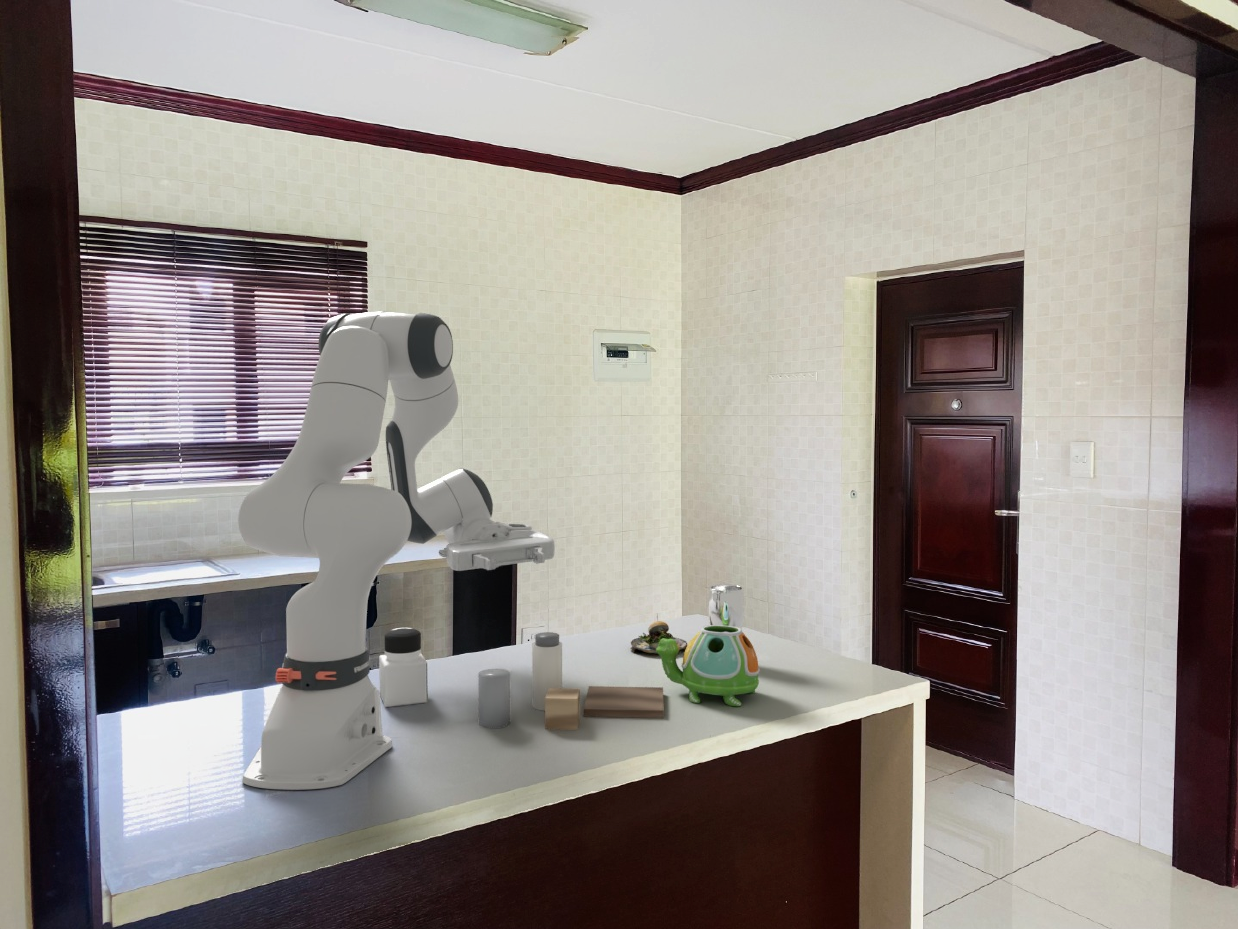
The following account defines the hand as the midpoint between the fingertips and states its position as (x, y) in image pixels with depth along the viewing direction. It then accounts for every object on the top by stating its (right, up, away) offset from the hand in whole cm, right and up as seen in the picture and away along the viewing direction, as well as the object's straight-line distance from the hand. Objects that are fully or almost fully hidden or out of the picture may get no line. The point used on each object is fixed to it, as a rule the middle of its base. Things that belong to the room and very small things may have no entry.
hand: (516, 562), depth 162 cm
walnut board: (+19, -23, -9) cm, 31 cm away
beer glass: (+39, -22, +16) cm, 48 cm away
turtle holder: (+34, -23, -3) cm, 42 cm away
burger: (+27, -21, +26) cm, 43 cm away
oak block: (+9, -24, -18) cm, 31 cm away
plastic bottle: (+6, -23, -9) cm, 26 cm away
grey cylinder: (-2, -24, -18) cm, 29 cm away
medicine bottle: (-19, -23, -6) cm, 30 cm away
